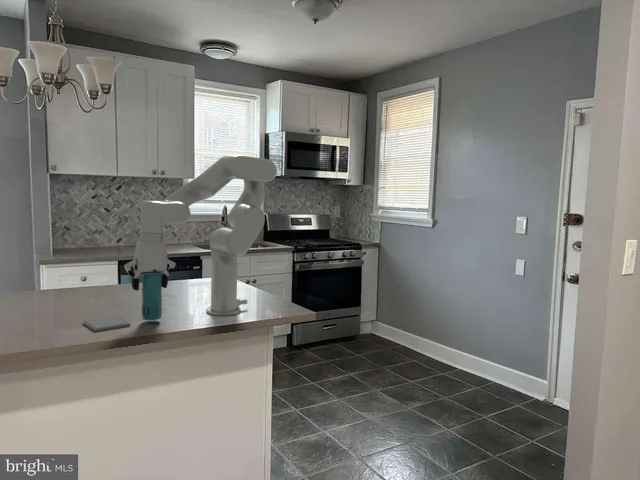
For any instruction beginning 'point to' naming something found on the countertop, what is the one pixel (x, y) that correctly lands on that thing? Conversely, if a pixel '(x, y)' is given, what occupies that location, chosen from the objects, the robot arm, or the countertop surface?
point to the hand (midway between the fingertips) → (150, 288)
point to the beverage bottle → (151, 296)
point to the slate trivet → (106, 324)
